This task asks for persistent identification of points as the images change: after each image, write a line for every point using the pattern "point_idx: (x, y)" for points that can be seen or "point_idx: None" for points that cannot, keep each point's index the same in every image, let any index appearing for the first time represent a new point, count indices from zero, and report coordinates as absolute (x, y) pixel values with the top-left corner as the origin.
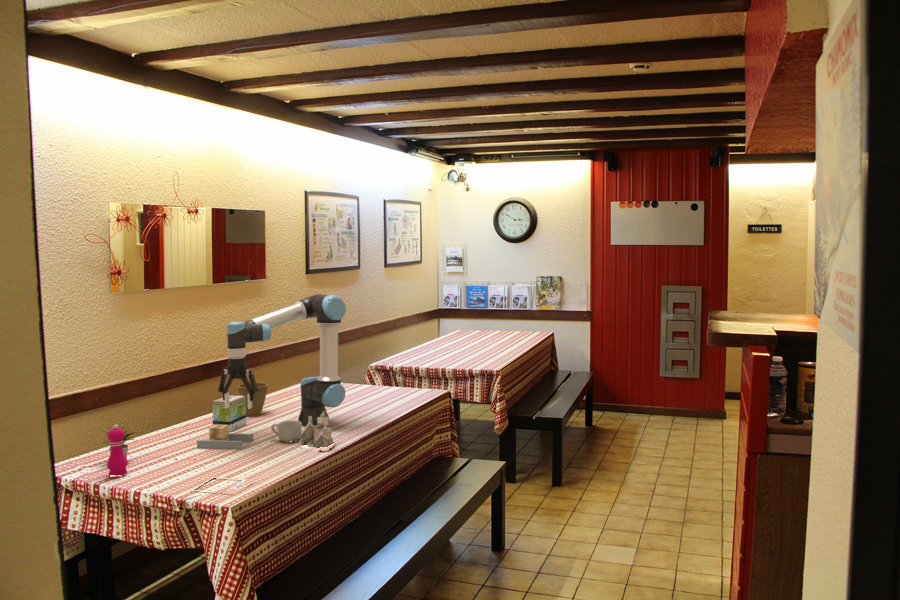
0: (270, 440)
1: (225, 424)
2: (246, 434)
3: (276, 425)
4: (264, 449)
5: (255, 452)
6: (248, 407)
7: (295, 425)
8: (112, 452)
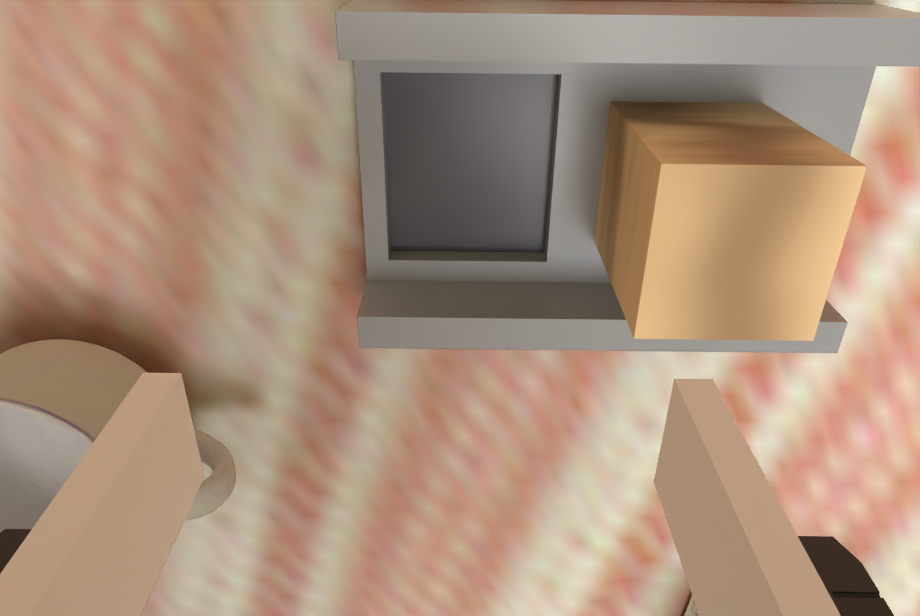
0: (270, 392)
1: None
2: (421, 319)
3: None
4: (162, 124)
5: (193, 5)
6: (154, 391)
7: None
8: None
